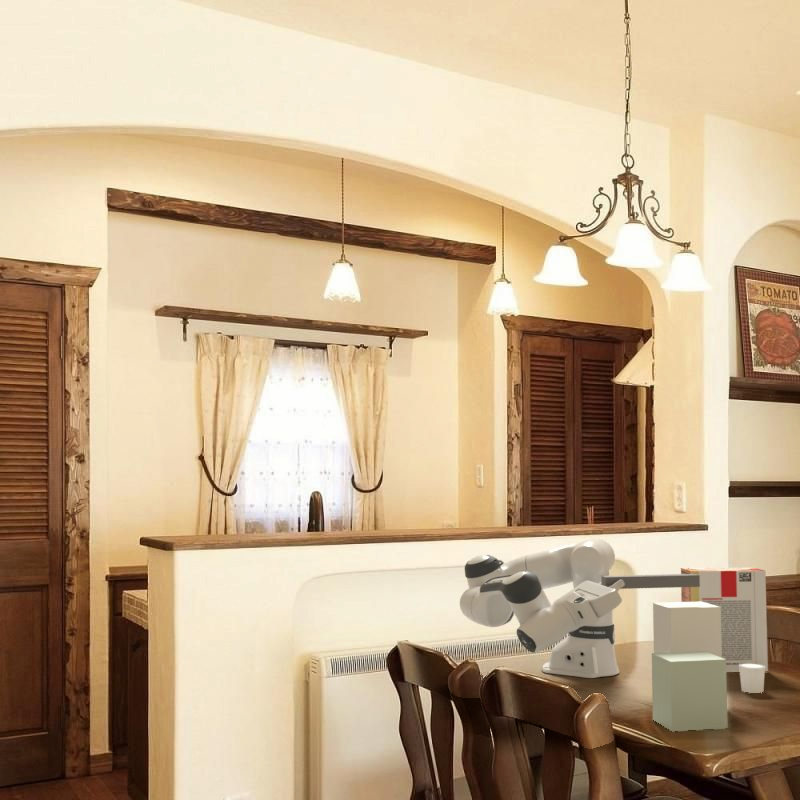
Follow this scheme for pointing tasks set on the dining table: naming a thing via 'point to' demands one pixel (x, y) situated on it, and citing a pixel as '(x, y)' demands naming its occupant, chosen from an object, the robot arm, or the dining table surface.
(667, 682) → the low stand
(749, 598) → the pasta box
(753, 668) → the shot glass
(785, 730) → the dining table surface
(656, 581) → the charcoal bar
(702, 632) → the tall stand
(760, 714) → the dining table surface
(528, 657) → the dining table surface
